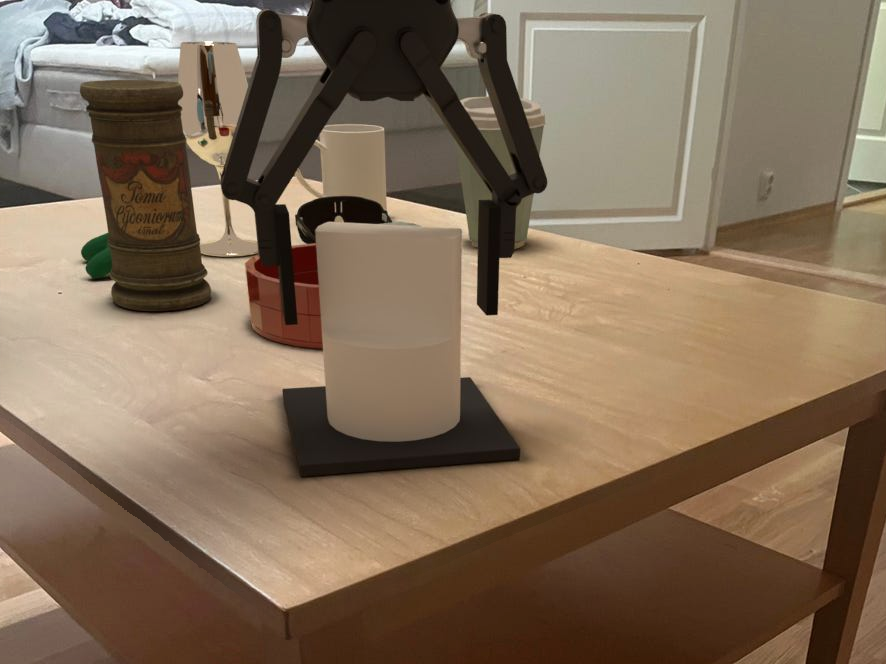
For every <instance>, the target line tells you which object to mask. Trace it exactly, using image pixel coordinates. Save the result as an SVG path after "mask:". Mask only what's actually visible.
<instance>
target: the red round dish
mask: <svg viewBox="0 0 886 664" xmlns="http://www.w3.org/2000/svg"><path fill="white" fill-rule="evenodd" d="M292 258H293V271H294V283H295V296H296V309H297V322H298V325H285V322H284V318H283V314H282V305H281V294H280V282H279V271H278V266H271V267H264V266H263V264H262V262H261V260H260V258H259V254H258V253H257V254H254V255H252V257H250V258H249V259H248V260H247V261H246V262H245V263H244V270H245V279H246V289H247V298H248V308H249V317H250V324H251V328H252V330H253V331H254V332H255V333H256V334H258V335H260V336H261V337H263V338H265V339H267V340H270V341H273V342H277V343H280V344H284V345H287V346H288V345H289V346H293V347H294V346H295V347H298V348H299V347H300V348H306V349H307V348H309V349H319V350H323V341H322V326H321V311H320V296H319V281H318V266H317V251H316V243H313V244H306V243H304V244H296V245H292Z"/></svg>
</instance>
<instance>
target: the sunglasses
mask: <svg viewBox="0 0 886 664" xmlns="http://www.w3.org/2000/svg"><path fill="white" fill-rule="evenodd" d="M341 202H342V212H341ZM335 204H336V212H335ZM337 216H341V217H342V219H343V221H344V223H363V224H383V223H392V222H393V220H392V219H391V217H390V215H389V213H388V209H387V210H384V209H383V207H382V206H381V204H379V203H378V202H376V201H373V200H370V199H366V198H363V197H357V196H330V197H322V198H318V197H316V198H314V199H312V200H310V201H308V202H305V203H303V204H301V205H300V207H299V208H298V210H297V212H296V214H294V218H295V220H294V221H295V226H296V228H297V233H298V236H299V238H300V240H301V242H303V243H304V244H313V243H316V236H315V230H316V228H317V227H318V226H320V225H322V224H324V223H326V222H335V218H336V217H337Z"/></svg>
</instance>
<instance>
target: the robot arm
mask: <svg viewBox="0 0 886 664" xmlns="http://www.w3.org/2000/svg"><path fill="white" fill-rule="evenodd" d="M255 20H256V23H255V24H256V52H257V54H256V59H255V61H254V65H253V68H252V72H251V76H250V78H249V82H248V88H247V92H246V95H245V98H244V102H243V105H242V108H241V112H240V115H239V118H238V122H237V125H236V128H235V132H234V135H233V138H232V142H231V145H230V148H229V152H228V155H227V158H226V162H225V165H224V168H223V172H222V175H221V180H220V179H219V183H221V184H220V190H221V194H222V193H223V195H224V196H225V197H226V198H228V199H229V201H235V202H236V201H237V202H240V203H242V204H245V205H247V206H249V207H250V208H251V209H252V211H253V213H254V222H255V232H256V233H255V234H256V241H257V244H258V253H257V255H258V254H259V258H260V260H261V262H262V264H263V266H264V267H271V266H278V271H279V282H280V294H281V305H282V314H283V318H284V322H285V325H298V322H297V309H296V296H295V283H294V271H293V258H292V246H293V245H292V235H291V222H290V212H289V210H288V207H287V205H286V203H280V204H279V203H278V201H279V200H280V198H281V197H282V195H283V194H284V192H285V190H286V189H287V187H288V186H289V184H290V182H291V181H292V179H293V178H294V176H295V173H296V171H297V170H298V168H299V169H300V166H301V165H302V164H303V162H304V160H305V159H306V157H307V155H308V154H309V152H310V151H311V149H312V147H313V146H314V143H315V141H316V140H318V138H319V137H320V133H321V131H322V130H323V128H324V127H325V126H327V124H328V123H329V121H330V119H331V117H332V115H334V113H335V112H336V111H337V110H338V108H339V107H340V105H341V104H342V103H343V101H344V100H345V98H346V96H347V95H349V96H350V97H351V98H353V99H356V100H358V101H360V102H376V101H379V100H382V99H385V98H389V99H390V98H391V99H393V100H396V101H398V102H399V101H400V102H414V101H415V99H418V98H419V97H421V96H424V98H425V99H426V101H427V102H428V103H429V105H430V106H431V107H432V108H433V109H434V111H435V112H436V114H437V115H438V117H439V118H440V120H441V121H442V123H443V124H444V125H445V127H446V129H447V130H448V132H449V134H450V135H451V136H452V138H453V139H454V141H455V140H456V141H455V143H456V142H457V143H458V145H459V146H460V148H461V149H462V151H463V152H464V154H465V155H466V157H467V158H468V160H469V161H470V163H471V164H472V166H473V167H474V169H475V170H476V172H477V173H478V175H479V176H480V178H481V179H482V180H483V182H484V183H485V185H486V186H487V188H488V189H489V191H490V192H491V194H492V201H491V200H479V208H478V248H477V261H476V262H477V265H476V266H477V267H476V269H477V271H476V274H477V275H476V277H477V278H476V306H477V307H478V308H479V309H480V310H481V311H482V312H483V314H484V315H485V316H487V317H488V316H498V315H499V289H500V288H499V287H500V286H499V285H500V283H499V282H500V259H512V257H513V255H514V253H515V226H516V208H517V206H518V205H519V204H520V203H521V200H522V199H523V198H524V197H527V196H529V195H531V194H533V195H534V194H538V195H539V194H541V193H543V192H544V191H545V190H546V188H547V187H548V178H547V174H546V172H545V169H544V168H545V167H544V165H543V163H542V159H541V157H540V156H541V155H539V153H538V150H537V148H536V145H535V142H534V139H533V136H532V133H531V130H530V127H529V124H528V121H527V118H526V115H525V112H524V109H523V106H522V103H521V100H520V98H521V97H520V94H519V91H518V89H517V84H516V82H515V79H514V76H513V74H512V70H511V68H510V65H509V61H508V41H507V39H508V37H507V36H508V35H507V34H508V33H507V22H506V19H505V18H504V16H502V15H500V14H496V13H491V12H483V13H480V14H479V16H469V17H468V16H467V17H456V14H455V12H454V10H453V7H452V2H451V0H311V3H310V7H309V10H308V12H307V14H306V15H299V14H289V13H278V12H276V11H274V10H272V9H269V8H264V9H261V10H260V11H259V12H258V13H257V15H256V19H255ZM304 38H307V40H308V41H309V43H310V45H311V46H312V47H313V48H314V50H315V52H316V53H317V55H318V56H319V57H320V59H321V60H322V62H323V63H324V64H325V66H326V67H325V68H324V70H323V72H322V73H321V75H320V76H319V78H318V80H317V81H316V83H315V85H314V87H313V88H312V90H311V93H310V95H309V96H308V98H307V99H306V101H305V103H304V105H303V106H302V108H301V109H300V111H299V113H298V114H297V116H296V118H295V119H294V121H293V122H292V124H291V125H290V127H289V129H288V130H287V133H286V134H285V135H284V136H283V138H282V140H281V142H280V144H279V145H278V147H277V148H276V150H275V151H274V153H273V155H272V157H271V158H270V159H269V161H268V163H267V164H266V166H265V168H264V169H263V171H262V173H261V174H260V176H259V178H258V179H257V180H255V179H251V178H249V173H250V170H251V167H252V164H253V160H254V157H255V154H256V151H257V148H258V144H259V141H260V138H261V135H262V132H263V128H264V126H265V122H266V119H267V116H268V112H269V110H270V107H271V103H272V100H273V97H274V93H275V90H276V86H277V84H278V81H279V78H280V77H279V76H280V73H281V69H282V62H283V59H289V58H291V57H292V56H293V55H294V54H295V52H296V49H297V45H298V43H299V41H300V40H302V39H304ZM458 40H460V41H461V42H462V43H463V44H464V46H465V50H466V53H467V54H468V56H469V57H471V58H473V59H476V60H477V64H478V69H479V72H480V75H481V78H482V81H483V83H484V86H485V90H486V92H487V95H488V96H489V98H490V101H491V104H492V107H493V109H494V112H495V115H496V118H497V121H498V124H499V126H500V129H501V132H502V135H503V138H504V141H505V143H506V146H507V149H508V152H509V155H510V158H511V160H512V163H513V166H514V169H515V172H516V173H514V174H512V175H508V174H507V172H506V171H505V169H504V168H503V166H502V164H501V163H500V161H499V160H498V158H497V157H496V155H495V154H494V152H493V151H492V149H491V148H490V146H489V145H488V143H487V141H486V140H485V138H484V137H483V135H482V134H481V132H480V131H479V129H478V128H477V126H476V125H475V123H474V122H473V120H472V119H471V117H470V115H469V114H468V112H467V111H466V109H465V108H464V106H463V105H462V103H461V102H460V100H461V99H460V98H459V96H458V94H457V92H456V91H455V89H454V87H453V86H452V85H451V83H450V81H449V80H448V78H447V76H446V75H445V74H444V72H443V71H442V69H441V68H442V66H443V64H444V63H445V61H446V60H447V58H448V57H449V55H450V53H451V52H452V50H453V49H454V47H455V46H456V44H457V42H458Z"/></svg>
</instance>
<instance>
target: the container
mask: <svg viewBox="0 0 886 664" xmlns="http://www.w3.org/2000/svg"><path fill="white" fill-rule="evenodd" d="M79 95H80V97H81V98H82V99H83V100H85V101H86V102H87V103H88V105H87V106H86V107H85V111H86V112H87V113H88V117H89V118H90V124H91V130H92V135H91V143H92V144H93V148H94V155H95V163H96V167H97V173H98V180H99V184H100V189H101V195H102V201H103V207H104V213H105V220H106V226H107V233H108V234H109V237H108V245H109V247H110V252H111V259H112V265H113V267H112V269H111V273H110V275H109V277H110V279H111V280H112V281H114V283H113V284H112V286H111V288H110V289H111V290H110V294H111V298H112V300H113V302H114V303H115V304H116V305H117V306H119V307H121V308H124V309H129V310H133V311H141V312H142V311H143V312H168V311H171V312H172V311H179V310H186V309H190V308H195V307H199V306H202V305H203V304H206V303H207V302H208V301H209V300H210V299H211V296H212V287H211V285H210V283H209V282H208V281H207V280H206V279H205V278H206V277H207V276H208V274H209V273H208V270H207V269H206V267H205V265H204V264H203V259H202V254H201V250H200V244H201V238H200V234H199V233H198V230H197V222H196V216H195V208H194V199H193V192H192V183H191V174H190V167H189V166H190V165H189V158H188V151H187V143H186V140H187V139H186V137H185V135H184V133H183V127H182V120H181V111H182V107H181V106H180V105H179V104H178V101H179V100H180V99H181V98H182V97H183V89H182V87H181V84H180V83H178V81H177V82H175V81H168V80H167V81H166V80H154V79H153V80H152V79H106V80H105V79H103V80H90V81H84V82H81V84H80V86H79Z"/></svg>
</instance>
